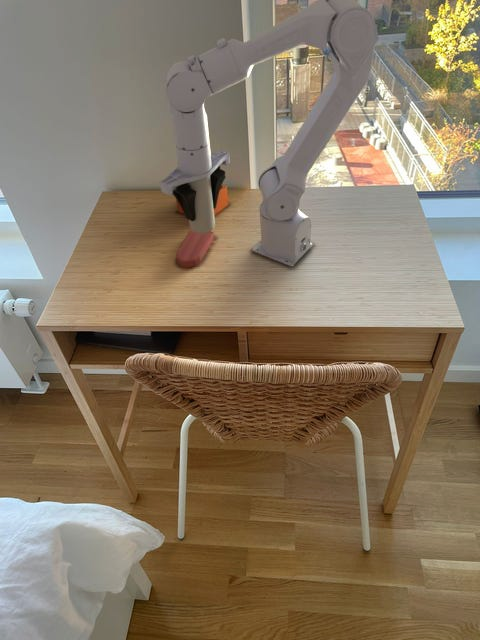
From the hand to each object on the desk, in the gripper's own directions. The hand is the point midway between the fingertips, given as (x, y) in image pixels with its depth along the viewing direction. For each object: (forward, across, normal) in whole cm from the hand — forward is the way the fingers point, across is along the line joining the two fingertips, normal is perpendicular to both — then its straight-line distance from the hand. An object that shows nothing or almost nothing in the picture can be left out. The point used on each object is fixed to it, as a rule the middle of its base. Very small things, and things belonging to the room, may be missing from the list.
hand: (201, 212), depth 91 cm
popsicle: (+11, -1, -4) cm, 12 cm away
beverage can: (+4, 0, 0) cm, 4 cm away
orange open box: (+10, -12, -14) cm, 21 cm away
